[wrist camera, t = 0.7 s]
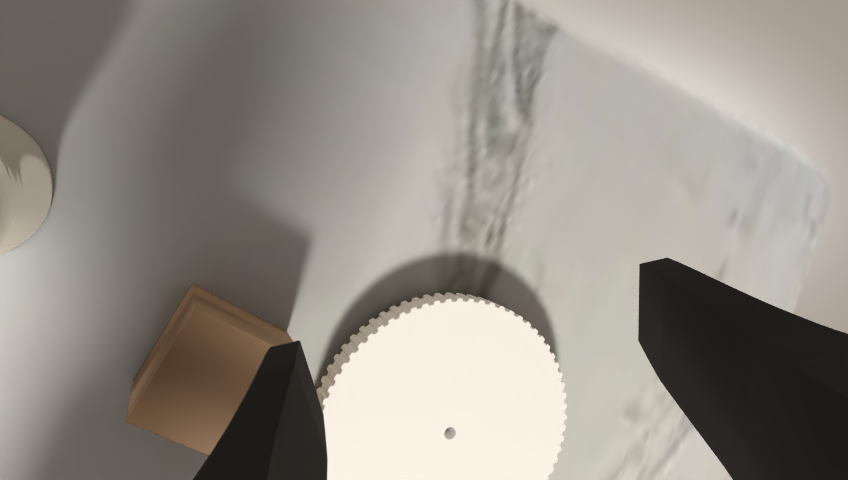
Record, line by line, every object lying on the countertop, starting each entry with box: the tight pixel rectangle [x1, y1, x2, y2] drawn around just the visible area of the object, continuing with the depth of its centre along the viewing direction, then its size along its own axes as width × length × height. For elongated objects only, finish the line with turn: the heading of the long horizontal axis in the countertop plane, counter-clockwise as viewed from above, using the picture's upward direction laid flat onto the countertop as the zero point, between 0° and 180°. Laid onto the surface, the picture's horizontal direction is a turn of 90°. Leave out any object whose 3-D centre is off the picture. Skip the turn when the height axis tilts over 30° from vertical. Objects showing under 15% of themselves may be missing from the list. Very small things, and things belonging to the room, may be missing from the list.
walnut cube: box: [126, 284, 293, 455], centre depth 27 cm, size 5×5×5 cm
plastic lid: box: [316, 293, 567, 480], centre depth 33 cm, size 14×14×2 cm
